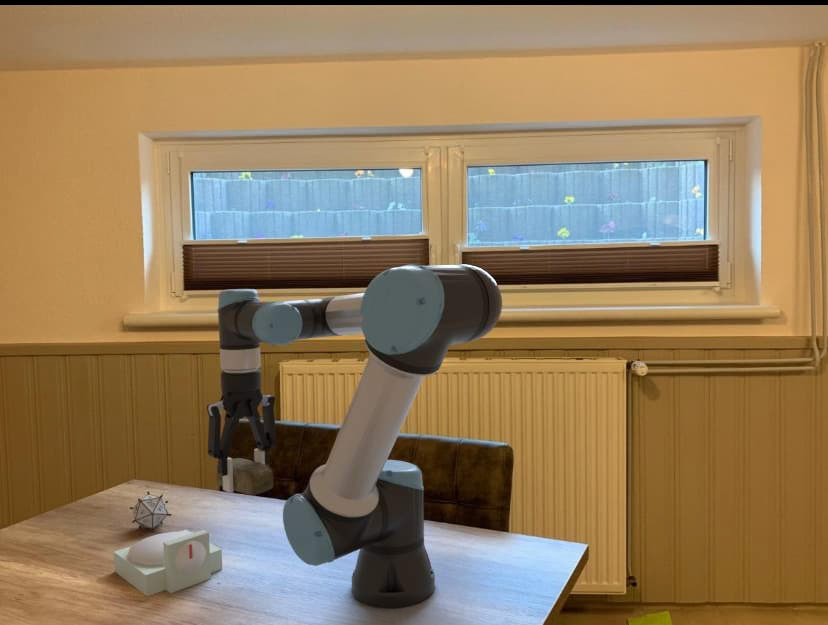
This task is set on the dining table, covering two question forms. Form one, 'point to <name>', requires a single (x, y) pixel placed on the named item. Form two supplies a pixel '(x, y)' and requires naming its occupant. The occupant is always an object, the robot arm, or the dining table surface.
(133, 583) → the scale
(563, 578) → the dining table surface
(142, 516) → the game die
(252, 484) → the stone block
